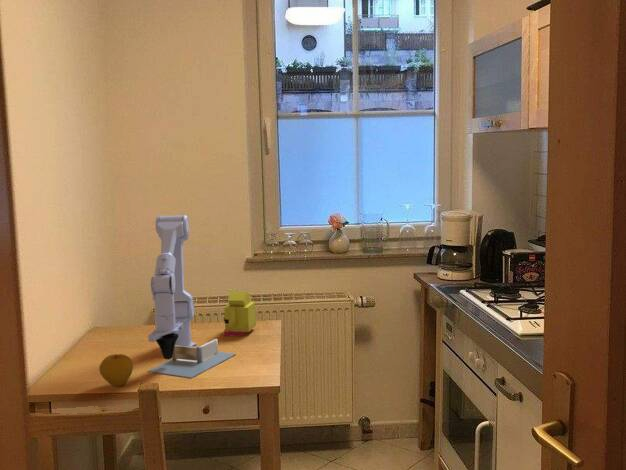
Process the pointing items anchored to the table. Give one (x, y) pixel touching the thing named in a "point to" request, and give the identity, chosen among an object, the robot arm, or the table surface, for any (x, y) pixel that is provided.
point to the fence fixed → (207, 350)
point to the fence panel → (184, 353)
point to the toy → (239, 314)
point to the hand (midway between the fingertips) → (168, 358)
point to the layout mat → (190, 365)
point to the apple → (116, 369)
